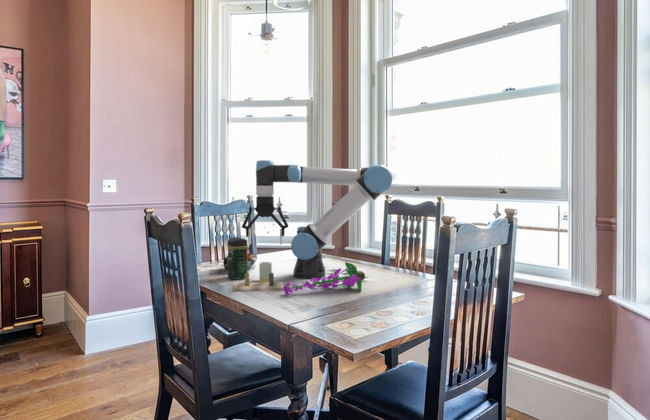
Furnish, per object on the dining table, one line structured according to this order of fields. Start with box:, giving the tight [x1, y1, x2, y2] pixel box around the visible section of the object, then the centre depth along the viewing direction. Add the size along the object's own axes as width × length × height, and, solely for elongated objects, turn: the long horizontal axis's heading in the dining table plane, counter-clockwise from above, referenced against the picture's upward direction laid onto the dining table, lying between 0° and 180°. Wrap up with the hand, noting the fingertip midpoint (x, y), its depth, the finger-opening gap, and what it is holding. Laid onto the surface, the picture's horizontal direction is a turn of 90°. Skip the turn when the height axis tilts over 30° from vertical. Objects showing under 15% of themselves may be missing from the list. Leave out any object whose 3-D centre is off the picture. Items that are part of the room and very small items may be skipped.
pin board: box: [232, 272, 285, 292], centre depth 176 cm, size 20×10×6 cm, turn 95°
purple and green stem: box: [282, 262, 366, 296], centre depth 170 cm, size 12×16×35 cm
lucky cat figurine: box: [223, 249, 258, 271], centre depth 209 cm, size 15×12×14 cm
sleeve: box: [259, 261, 273, 282], centre depth 188 cm, size 5×5×8 cm
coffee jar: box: [227, 236, 249, 280], centre depth 194 cm, size 10×8×19 cm
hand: (265, 244), depth 187 cm, fingers open, 13 cm apart
